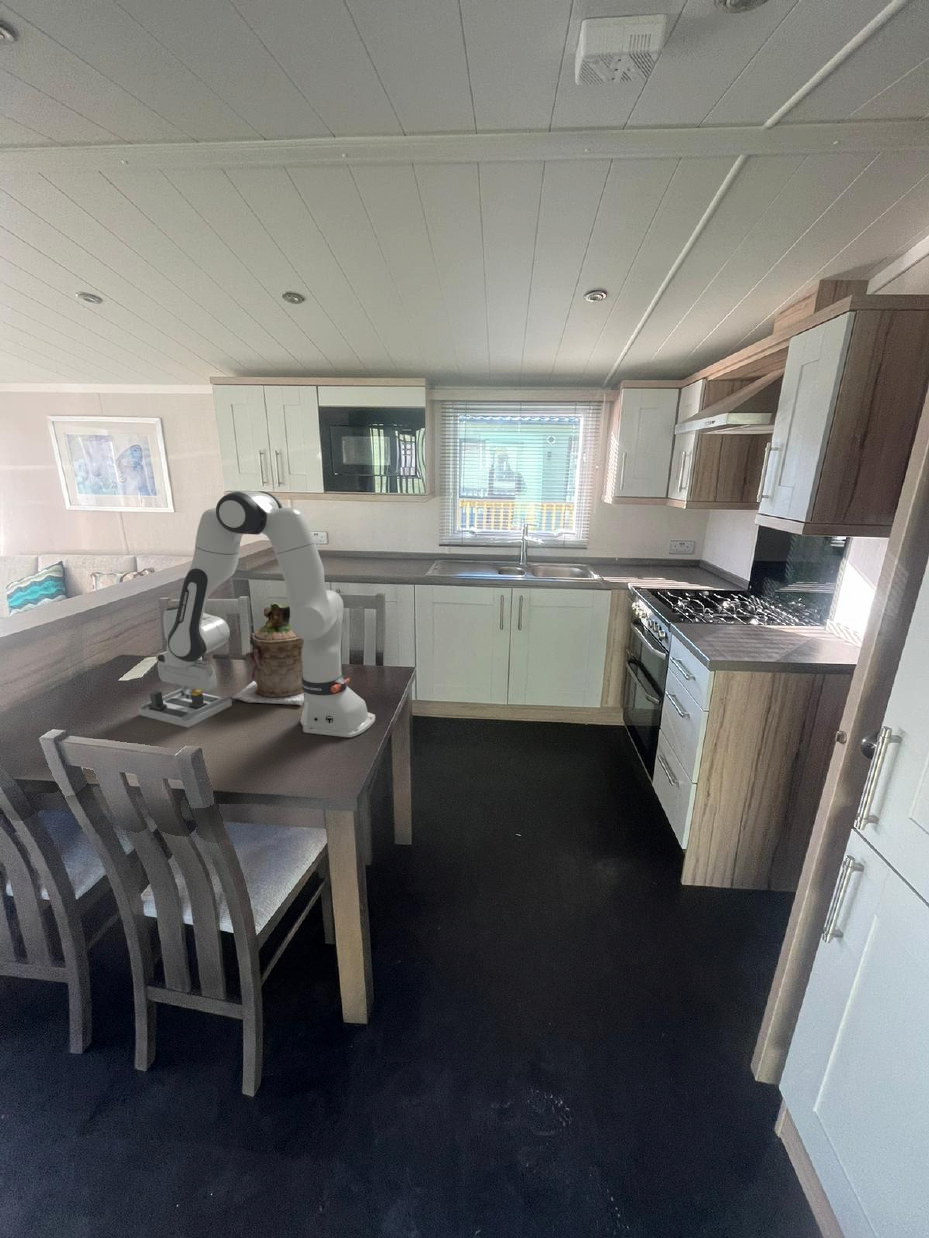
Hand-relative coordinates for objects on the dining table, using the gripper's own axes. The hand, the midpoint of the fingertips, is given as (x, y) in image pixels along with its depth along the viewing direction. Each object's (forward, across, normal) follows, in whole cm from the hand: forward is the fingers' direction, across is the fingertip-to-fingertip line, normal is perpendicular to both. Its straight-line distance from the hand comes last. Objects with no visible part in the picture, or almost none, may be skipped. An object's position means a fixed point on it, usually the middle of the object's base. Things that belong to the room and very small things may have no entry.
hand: (190, 698), depth 146 cm
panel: (+4, +2, 0) cm, 5 cm away
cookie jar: (+4, -14, -24) cm, 29 cm away
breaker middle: (+2, -3, 0) cm, 3 cm away
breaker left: (+2, +7, +6) cm, 9 cm away
